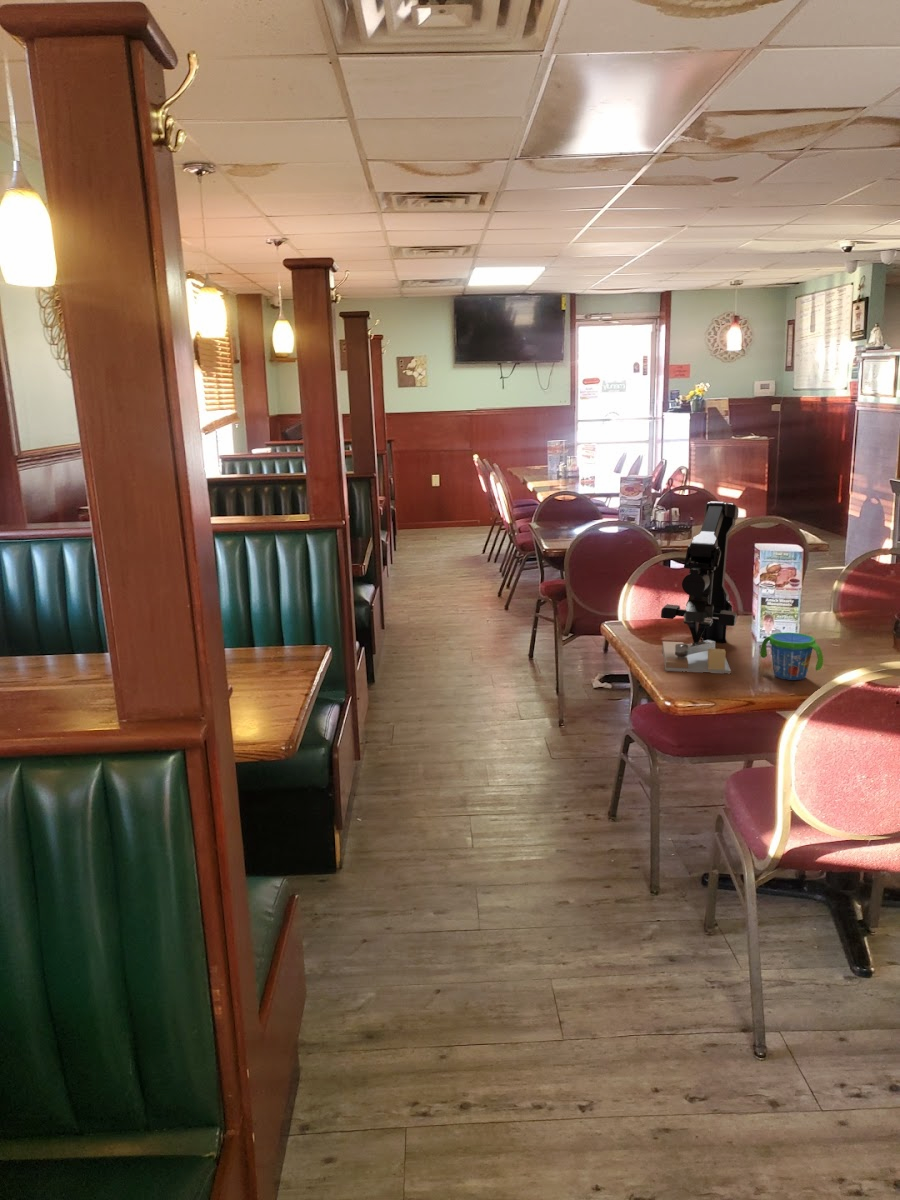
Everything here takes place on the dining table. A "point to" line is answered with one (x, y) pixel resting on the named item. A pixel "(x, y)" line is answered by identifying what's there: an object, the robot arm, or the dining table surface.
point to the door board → (695, 660)
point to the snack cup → (791, 654)
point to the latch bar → (694, 647)
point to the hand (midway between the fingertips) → (696, 646)
